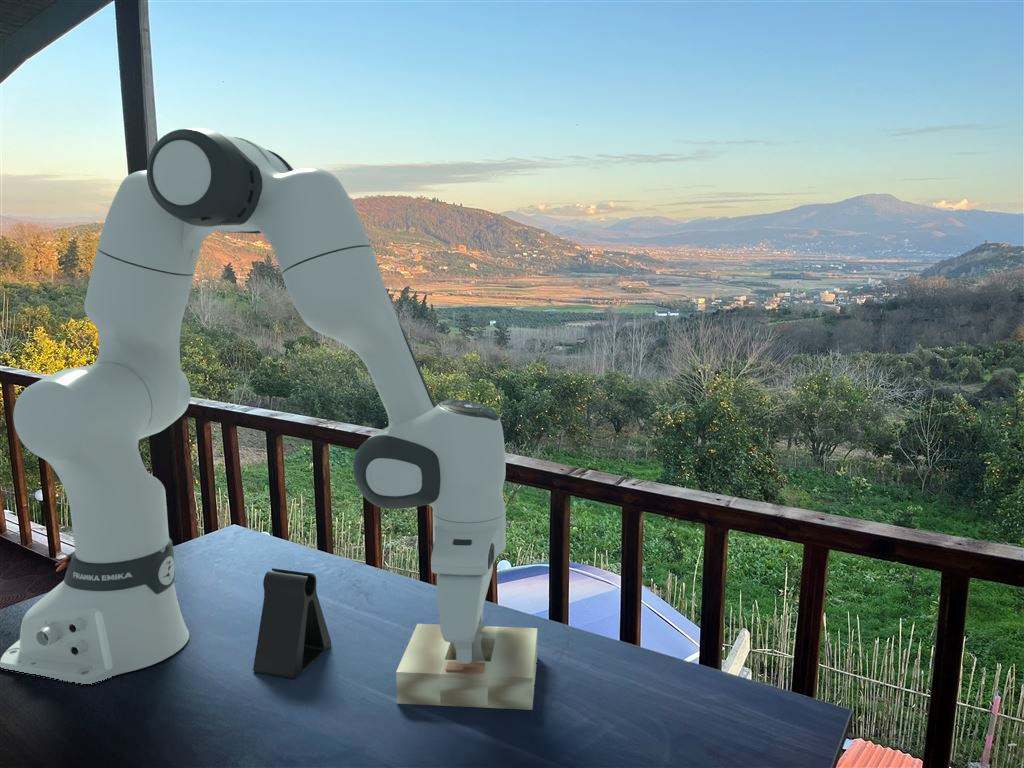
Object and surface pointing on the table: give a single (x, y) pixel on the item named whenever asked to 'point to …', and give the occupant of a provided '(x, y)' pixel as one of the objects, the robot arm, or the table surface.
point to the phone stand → (290, 625)
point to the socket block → (469, 670)
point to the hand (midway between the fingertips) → (470, 640)
